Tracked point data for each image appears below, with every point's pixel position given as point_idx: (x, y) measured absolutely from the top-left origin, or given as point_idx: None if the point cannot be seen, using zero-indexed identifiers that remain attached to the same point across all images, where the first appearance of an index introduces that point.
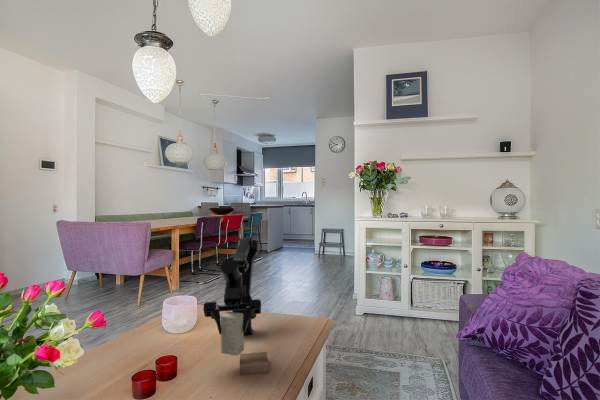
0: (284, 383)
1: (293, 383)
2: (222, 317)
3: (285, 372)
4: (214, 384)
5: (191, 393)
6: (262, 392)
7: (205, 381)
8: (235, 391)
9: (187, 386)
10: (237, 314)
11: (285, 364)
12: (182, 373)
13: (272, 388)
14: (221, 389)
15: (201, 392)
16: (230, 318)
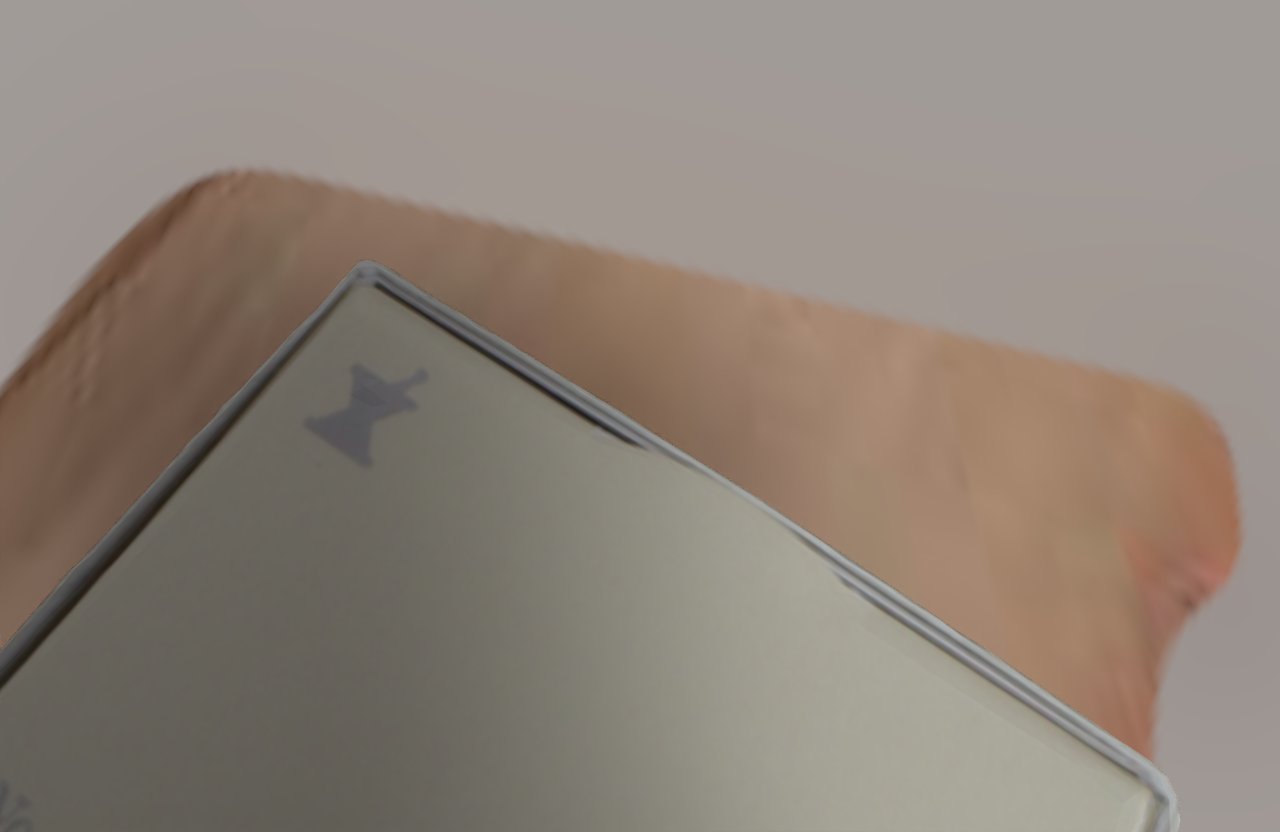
0: (171, 292)
1: (97, 273)
2: (1028, 696)
3: (85, 463)
4: (768, 425)
5: (941, 342)
6: (386, 221)
7: (854, 495)
8: (593, 283)
9: (1000, 452)
10: (227, 762)
11: (11, 626)
12: (1115, 712)
13: (293, 250)
14: (705, 337)
15: (863, 336)
16: (643, 443)
